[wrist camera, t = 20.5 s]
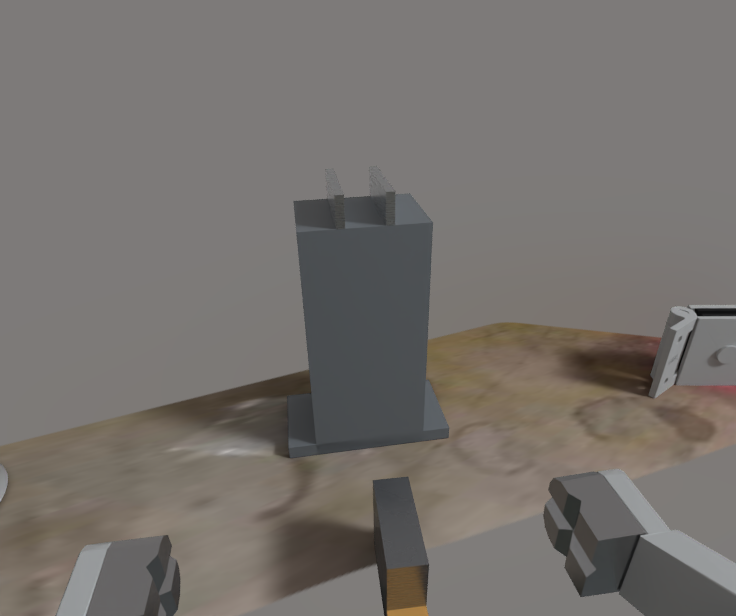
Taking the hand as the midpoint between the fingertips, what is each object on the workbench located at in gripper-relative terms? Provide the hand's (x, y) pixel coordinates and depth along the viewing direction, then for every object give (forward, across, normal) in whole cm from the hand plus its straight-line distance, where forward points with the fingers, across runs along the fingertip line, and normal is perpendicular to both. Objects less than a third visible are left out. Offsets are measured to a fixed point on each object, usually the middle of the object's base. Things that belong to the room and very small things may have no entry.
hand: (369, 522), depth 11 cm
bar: (+13, +4, -32) cm, 35 cm away
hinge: (+38, +48, -32) cm, 69 cm away
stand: (+39, +5, -32) cm, 50 cm away
